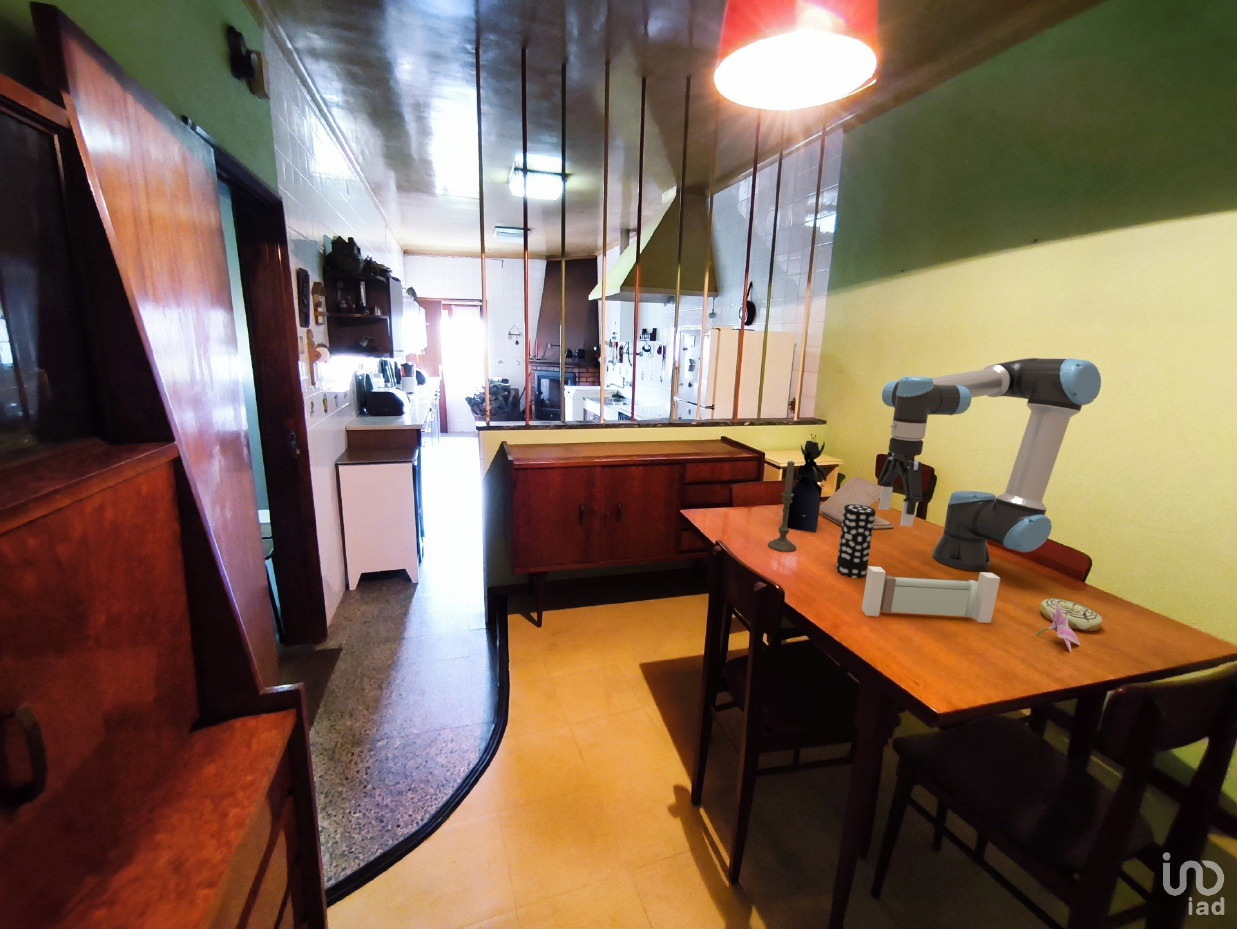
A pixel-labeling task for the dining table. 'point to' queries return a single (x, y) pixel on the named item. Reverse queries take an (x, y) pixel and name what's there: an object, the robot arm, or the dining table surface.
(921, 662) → the dining table surface
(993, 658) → the dining table surface
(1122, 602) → the dining table surface
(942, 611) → the gate
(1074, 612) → the decorated donut
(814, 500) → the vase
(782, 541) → the candlestick holder
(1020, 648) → the dining table surface
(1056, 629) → the lily
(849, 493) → the case
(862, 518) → the spotted tube
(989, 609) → the gate posts
